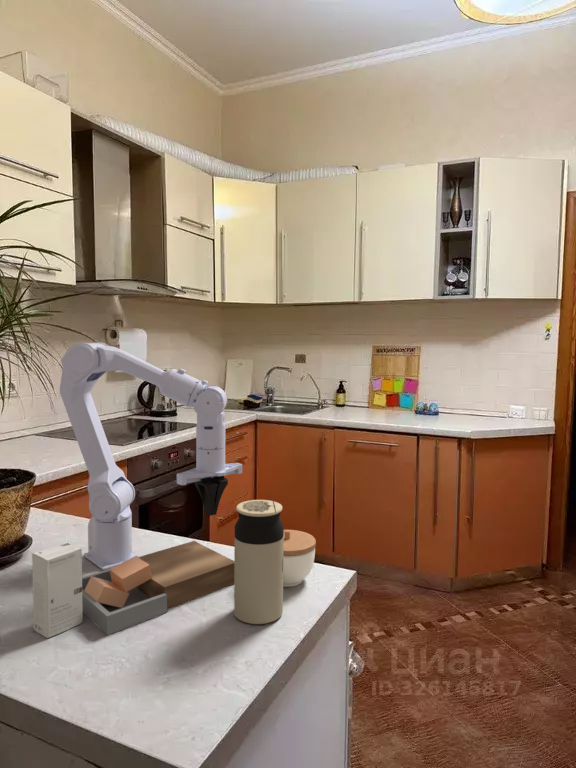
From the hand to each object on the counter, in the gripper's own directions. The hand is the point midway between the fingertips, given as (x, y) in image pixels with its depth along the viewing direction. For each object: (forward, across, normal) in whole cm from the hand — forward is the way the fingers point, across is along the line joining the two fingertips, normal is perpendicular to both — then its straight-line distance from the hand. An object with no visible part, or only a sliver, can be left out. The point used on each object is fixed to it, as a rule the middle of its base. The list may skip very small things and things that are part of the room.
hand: (210, 513), depth 107 cm
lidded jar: (+10, +6, -16) cm, 20 cm away
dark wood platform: (+10, -10, -4) cm, 14 cm away
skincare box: (+10, -32, -4) cm, 33 cm away
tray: (+10, -22, -4) cm, 24 cm away
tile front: (+6, -23, -4) cm, 24 cm away
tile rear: (+6, -19, -4) cm, 21 cm away
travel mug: (+10, -6, -22) cm, 25 cm away
